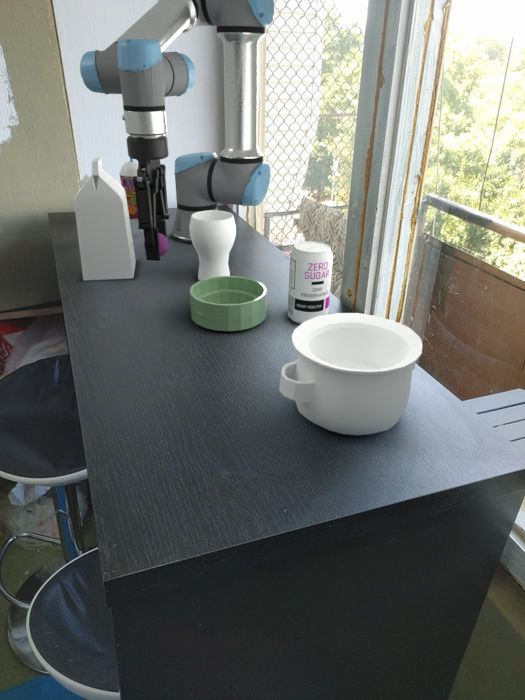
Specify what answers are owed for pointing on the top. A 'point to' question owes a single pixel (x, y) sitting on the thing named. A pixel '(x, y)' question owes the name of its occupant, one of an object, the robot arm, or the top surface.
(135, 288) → the top surface
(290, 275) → the supplement can
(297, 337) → the pot
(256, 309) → the bowl
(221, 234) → the cup
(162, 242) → the ball
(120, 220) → the milk
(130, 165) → the smoothie
